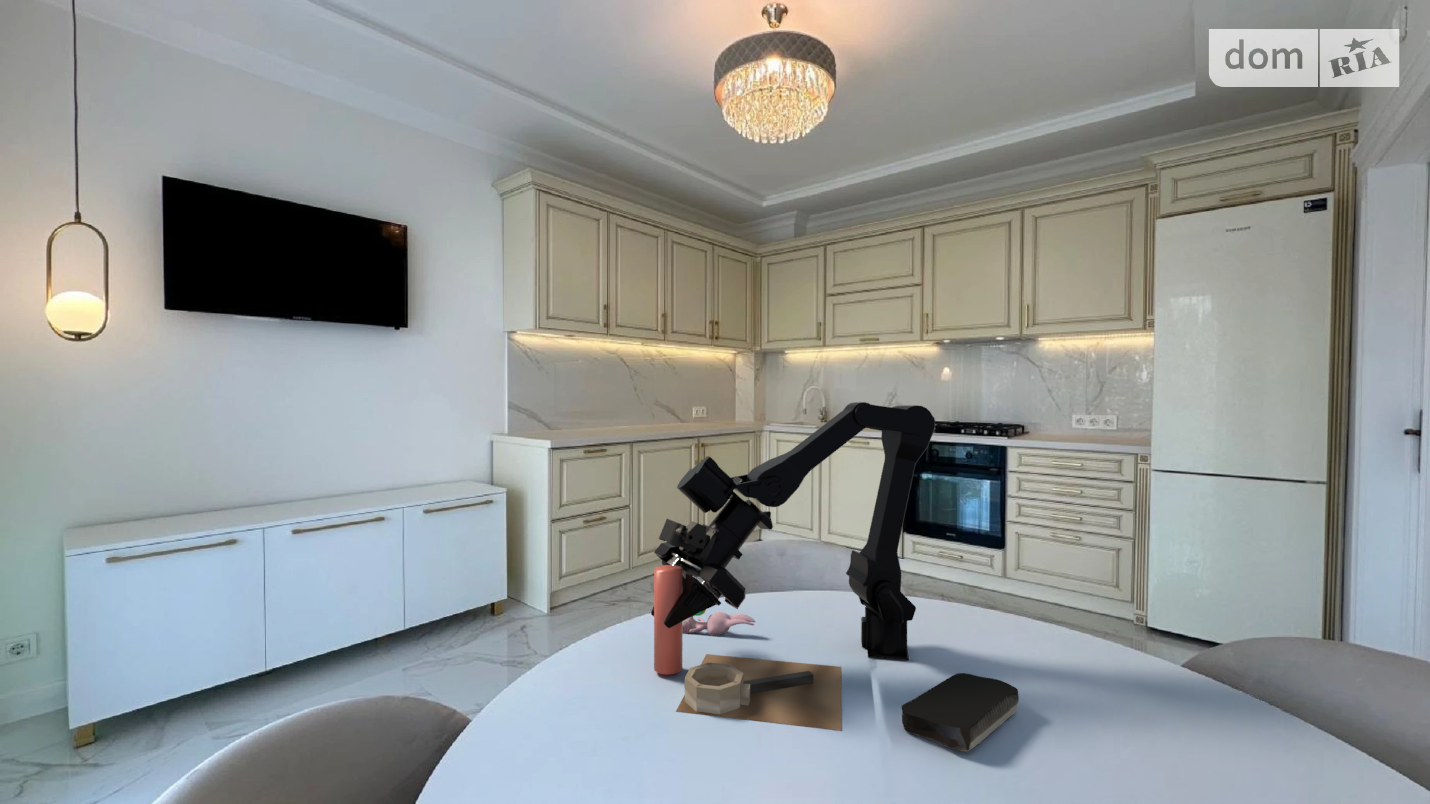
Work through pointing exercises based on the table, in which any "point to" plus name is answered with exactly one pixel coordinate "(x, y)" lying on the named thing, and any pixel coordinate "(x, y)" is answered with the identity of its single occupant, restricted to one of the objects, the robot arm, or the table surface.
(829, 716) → the walnut board
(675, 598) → the red plug
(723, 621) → the rabbit figure
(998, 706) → the black sponge
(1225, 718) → the table surface
